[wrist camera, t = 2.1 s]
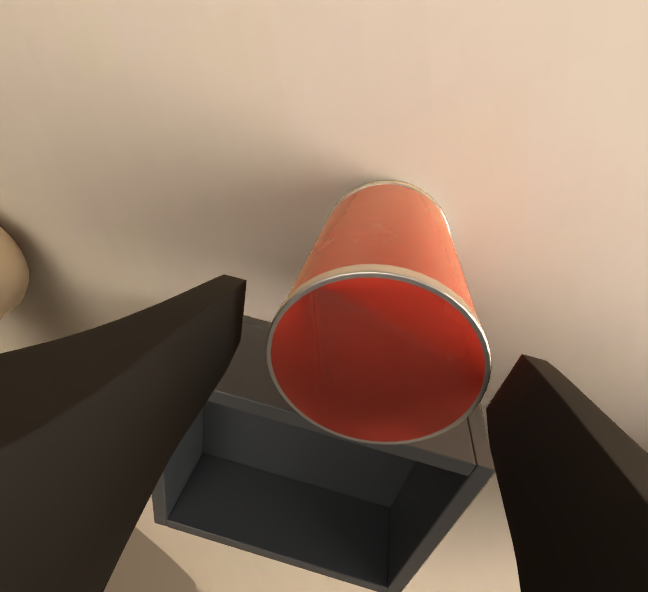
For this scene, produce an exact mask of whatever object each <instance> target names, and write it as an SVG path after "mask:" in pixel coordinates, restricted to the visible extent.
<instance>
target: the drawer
mask: <svg viewBox="0 0 648 592" xmlns="http://www.w3.org/2000/svg"><path fill="white" fill-rule="evenodd" d="M271 324H272V323H269V322H265V321H262V320H258V319H254V318H251V317H247V316H244V315H243V322H242V333H241V341H240V343H239V345H238V348H237V350H236V352H235V354H234V356H233V358H232V360H231V362H230V364H229V366H228V368H227V370H226V372H225V374H224V375H223V377H222V379H221V380H220V382H219V383H218V385H217V386H216V388H215V390H214V391H213V393H212V394H211V396H210V397H209V399H208V400H207V402H206V403H205V405H204V406H203V408H202V409H201V411H200V413H199V414H198V416H197V417H196V419H195V420H194V422H193V423H192V425H191V426H190V428H189V429H188V431H187V432H186V434H185V435H184V437H183V439H182V440H181V442H180V443H179V445H178V446H177V448H176V450H175V451H174V453H173V455H172V457H171V458H170V460H169V462H168V464H167V465H166V467H165V469H164V471H163V473H162V475H161V477H160V479H159V481H158V483H157V485H156V486H155V488H154V490H153V492H152V501H153V511H154V521H155V523H157V524H161V525H164V526H168V527H170V528H173V529H176V530H180V531H183V532H186V533H189V534H193V535H196V536H199V537H202V538H205V539H209V540H212V541H215V542H218V543H222V544H225V545H228V546H231V547H235V548H238V549H241V550H244V551H248V552H251V553H254V554H257V555H260V556H264V557H267V558H270V559H273V560H277V561H280V562H283V563H286V564H290V565H293V566H296V567H299V568H303V569H306V570H309V571H312V572H316V573H319V574H322V575H325V576H328V577H332V578H335V579H338V580H341V581H345V582H348V583H351V584H354V585H358V586H361V587H364V588H367V589H371V590H374V591H377V592H402V590H403V589H404V588H405V587H406V585H407V584H408V583H409V582H410V580H411V579H412V578H413V576H414V575H415V574H416V573H417V571H418V570H419V569H420V568H421V566H422V565H423V564H424V562H425V561H426V560H427V559H428V557H429V556H430V555H431V554H432V552H433V551H434V550H435V548H436V547H437V546H438V545H439V543H440V542H441V541H442V540H443V538H444V537H445V536H446V534H447V533H448V532H449V531H450V529H451V528H452V527H453V526H454V524H455V523H456V522H457V521H458V519H459V518H460V517H461V515H462V514H463V513H464V512H465V510H466V509H467V508H468V507H469V505H470V504H471V503H472V501H473V500H474V499H475V498H476V496H477V495H478V494H479V493H480V491H481V490H482V489H483V487H484V486H485V485H486V484H487V482H488V481H489V480H490V479H491V477H492V476H493V475H494V473H495V467H494V463H493V459H492V454H491V450H490V444H489V439H488V435H487V431H486V426H485V422H484V418H483V414H482V410H481V406H480V402H479V404H478V405H477V406H476V408H475V409H474V410H473V411H472V412H471V413H470V414H469V415H468V416H467V417H466V418H465V419H464V420H463V421H461V422H460V423H459V424H457V425H456V426H454V427H453V428H451V429H449V430H447V431H446V432H443V433H441V434H439V435H436V436H434V437H431V438H428V439H425V440H421V441H416V442H411V443H404V444H371V443H365V442H358V441H354V440H350V439H346V438H343V437H340V436H337V435H335V434H332V433H330V432H328V431H325V430H323V429H321V428H320V427H318V426H316V425H314V424H312V423H311V422H309V421H308V420H307V419H305V418H304V417H302V416H301V415H300V414H299V413H298V412H296V411H295V410H294V409H293V408H292V407H291V406H290V405H289V404H288V403H287V402H286V401H285V399H284V398H283V397H282V395H281V394H280V393H279V391H278V389H277V388H276V386H275V384H274V382H273V380H272V377H271V375H270V372H269V368H268V365H267V358H266V341H267V336H268V332H269V328H270V326H271Z"/></svg>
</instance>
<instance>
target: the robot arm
mask: <svg viewBox="0 0 648 592" xmlns="http://www.w3.org/2000/svg"><path fill="white" fill-rule="evenodd" d="M246 281H247V280H243V279H240V278H236V277H232V276H228V275H225V274H224V275H221V276H219V277H217V278H214V279H212V280H210V281H208V282H205V283H203V284H201V285H199V286H197V287H195V288H192V289H190V290H188V291H186V292H184V293H181V294H179V295H177V296H175V297H172V298H170V299H168V300H166V301H164V302H161V303H159V304H157V305H154V306H152V307H149V308H147V309H144V310H141V311H139V312H136V313H134V314H131V315H129V316H126V317H124V318H121V319H119V320H116V321H113V322H111V323H108V324H105V325H102V326H99V327H96V328H93V329H90V330H87V331H83V332H80V333H77V334H74V335H70V336H67V337H64V338H60V339H57V340H53V341H50V342H46V343H42V344H38V345H34V346H30V347H26V348H22V349H18V350H14V351H9V352H5V353H1V354H0V592H103V591H104V589H105V587H106V585H107V583H108V581H109V579H110V576H111V574H112V572H113V570H114V568H115V566H116V564H117V562H118V560H119V558H120V556H121V554H122V551H123V549H124V548H125V545H126V543H127V541H128V539H129V537H130V535H131V533H132V531H133V529H134V528H135V526H136V524H137V522H138V520H139V518H140V516H141V514H142V512H143V510H144V508H145V506H146V504H147V502H148V500H149V498H150V496H151V494H152V492H153V490H154V488H155V486H156V485H157V483H158V481H159V479H160V477H161V475H162V473H163V471H164V469H165V467H166V465H167V464H168V462H169V460H170V458H171V457H172V455H173V453H174V451H175V450H176V448H177V446H178V445H179V443H180V442H181V440H182V439H183V437H184V435H185V434H186V432H187V431H188V429H189V428H190V426H191V425H192V423H193V422H194V420H195V419H196V417H197V416H198V414H199V413H200V411H201V409H202V408H203V406H204V405H205V403H206V402H207V400H208V399H209V397H210V396H211V394H212V393H213V391H214V390H215V388H216V386H217V385H218V383H219V382H220V380H221V379H222V377H223V375H224V374H225V372H226V370H227V368H228V366H229V364H230V362H231V360H232V358H233V356H234V354H235V352H236V350H237V348H238V345H239V343H240V341H241V333H242V322H243V312H244V302H245V291H246ZM486 412H487V425H488V436H489V444H490V450H491V454H492V459H493V463H494V467H495V472H496V476H497V480H498V484H499V488H500V492H501V497H502V501H503V505H504V509H505V513H506V517H507V521H508V525H509V529H510V533H511V538H512V542H513V547H514V552H515V557H516V562H517V568H518V575H519V582H520V589H521V592H648V453H647V452H646V451H645V450H643V449H642V448H641V447H640V446H639V445H638V444H637V443H636V442H635V441H634V440H632V439H631V438H630V437H629V436H628V435H627V434H626V433H625V432H624V431H623V430H622V429H621V428H619V427H618V426H617V425H616V424H615V423H614V422H613V421H612V420H611V419H610V418H609V417H608V416H607V415H606V414H605V413H604V412H602V411H601V410H600V409H599V408H598V407H597V406H596V405H595V404H594V403H593V402H592V401H591V400H590V399H589V398H588V397H587V396H586V395H585V394H583V393H582V392H581V391H580V390H579V389H578V388H577V387H576V386H575V385H574V384H573V383H572V382H571V381H570V380H568V379H567V378H566V377H565V376H564V375H563V374H562V373H561V372H560V371H558V370H557V369H556V368H555V367H554V366H552V365H551V364H550V363H548V362H547V361H545V360H541V359H538V358H534V357H530V356H527V355H523V354H522V355H521V356H520V358H519V359H518V361H517V362H516V364H515V366H514V367H513V369H512V370H511V372H510V373H509V375H508V376H507V378H506V379H505V381H504V382H503V384H502V385H501V387H500V388H499V390H498V392H497V393H496V395H495V396H494V398H493V399H492V401H491V402H490V404H489V405H488V407H487V408H486Z"/></svg>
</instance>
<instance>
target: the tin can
mask: <svg viewBox="0 0 648 592" xmlns="http://www.w3.org/2000/svg"><path fill="white" fill-rule="evenodd" d="M266 358H267V365H268V368H269V372H270V375H271V377H272V380H273V382H274V384H275V386H276V388H277V389H278V391H279V393H280V394H281V395H282V397H283V398H284V399H285V401H286V402H287V403H288V404H289V405H290V406H291V407H292V408H293V409H294V410H295V411H296V412H298V413H299V414H300V415H301V416H302V417H304V418H305V419H307V420H308V421H309V422H311V423H312V424H314V425H316V426H318V427H320V428H321V429H323V430H325V431H328V432H330V433H332V434H335V435H337V436H340V437H343V438H346V439H350V440H354V441H358V442H365V443H371V444H404V443H411V442H416V441H421V440H425V439H428V438H431V437H434V436H436V435H439V434H441V433H443V432H446V431H447V430H449V429H451V428H453V427H454V426H456V425H457V424H459V423H460V422H461V421H463V420H464V419H465V418H466V417H467V416H468V415H469V414H470V413H471V412H472V411H473V410H474V409H475V408H476V406H477V405H478V404H479V402H480V401H481V399H482V397H483V395H484V393H485V392H486V389H487V386H488V383H489V380H490V374H491V353H490V349H489V345H488V341H487V338H486V335H485V333H484V330H483V328H482V326H481V323H480V321H479V320H478V318H477V315H476V312H475V309H474V306H473V303H472V300H471V297H470V294H469V291H468V288H467V285H466V282H465V279H464V276H463V272H462V269H461V266H460V263H459V260H458V257H457V254H456V251H455V248H454V245H453V242H452V239H451V236H450V229H449V225H448V222H447V220H446V217H445V215H444V213H443V211H442V209H441V208H440V206H439V205H438V204H437V203H436V201H435V200H434V199H433V198H432V197H430V196H429V195H428V194H427V193H425V192H424V191H422V190H421V189H419V188H417V187H415V186H413V185H410V184H407V183H404V182H398V181H376V182H371V183H367V184H365V185H362V186H359V187H357V188H355V189H354V190H352V191H350V192H349V193H347V194H346V195H345V196H344V197H343V198H342V199H340V200H339V201H338V203H337V204H336V205H335V206H334V208H333V209H332V211H331V212H330V214H329V216H328V218H327V220H326V223H325V225H324V228H323V230H322V232H321V234H320V236H319V238H318V240H317V241H316V243H315V245H314V247H313V249H312V251H311V253H310V255H309V257H308V259H307V261H306V262H305V264H304V266H303V268H302V270H301V272H300V274H299V276H298V278H297V280H296V282H295V284H294V285H293V287H292V289H291V291H290V293H289V295H288V297H287V299H286V300H285V301H284V302H283V304H282V305H281V307H280V308H279V310H278V312H277V313H276V315H275V317H274V319H273V321H272V324H271V326H270V328H269V332H268V336H267V341H266Z"/></svg>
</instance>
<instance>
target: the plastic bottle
mask: <svg viewBox="0 0 648 592" xmlns="http://www.w3.org/2000/svg"><path fill="white" fill-rule="evenodd" d="M28 283H29V268H28V265H27V262H26V259H25V257H24V255H23V253H22V251H21V250H20V248H19V247H18V245H17V244H16V243H15V241H14V240H13V239H12V238H11V237H10V236H9V234H8V233H7V232H5V231H4V230H3V229H2V228H1V227H0V320H1V319H2V318H3V317H4V316H5V315H6V314H8V313H9V312H10V311H11V310H12V309H13V308H15V307H16V306H17V305H18V304H19V303H20V302H21V301H22V299H23V297H24V296H25V293H26V290H27V287H28Z"/></svg>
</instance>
